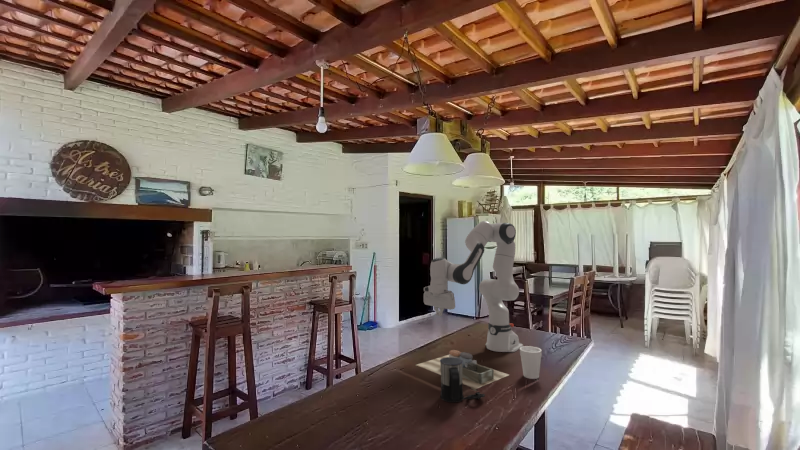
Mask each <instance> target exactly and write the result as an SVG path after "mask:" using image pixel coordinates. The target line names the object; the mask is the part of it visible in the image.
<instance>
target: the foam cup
mask: <svg viewBox="0 0 800 450" xmlns="http://www.w3.org/2000/svg"><path fill="white" fill-rule="evenodd" d="M542 350H543V349H541V348H540V347H538V346H532V345H529V346H528V345H525V346H524V345H523V347H520V349H519V355H520V360H521V368H522V374H523V377H524V378H525V379H526V378H527V379H530V380H534V381H535V382H536V381H539V377H540V371H541V360H542V357H543V354H542V352H543V351H542ZM535 379H536V380H535Z"/></svg>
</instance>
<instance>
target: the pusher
mask: <svg viewBox="0 0 800 450" xmlns="http://www.w3.org/2000/svg"><path fill="white" fill-rule="evenodd" d="M476 364H477V359H476V360H475V359H472V361H470V362H467V363H465V368H466V369H469V370H472V371H474V372H477V365H476Z"/></svg>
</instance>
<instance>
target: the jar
mask: <svg viewBox="0 0 800 450" xmlns="http://www.w3.org/2000/svg"><path fill="white" fill-rule="evenodd" d="M461 352H462V351H460V350H455V349H451V350H449V353H448V355H449V357H454V358H459V359H460V353H461Z"/></svg>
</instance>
